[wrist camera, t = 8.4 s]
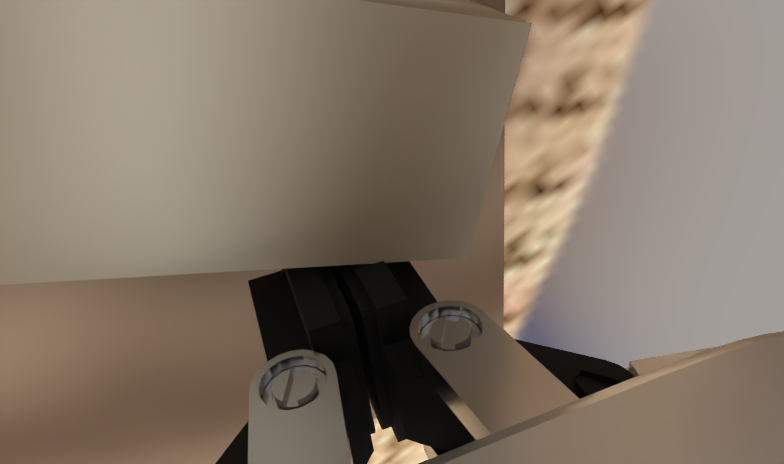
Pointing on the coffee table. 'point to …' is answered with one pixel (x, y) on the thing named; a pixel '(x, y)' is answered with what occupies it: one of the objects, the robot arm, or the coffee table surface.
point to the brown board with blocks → (170, 353)
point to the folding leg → (245, 133)
